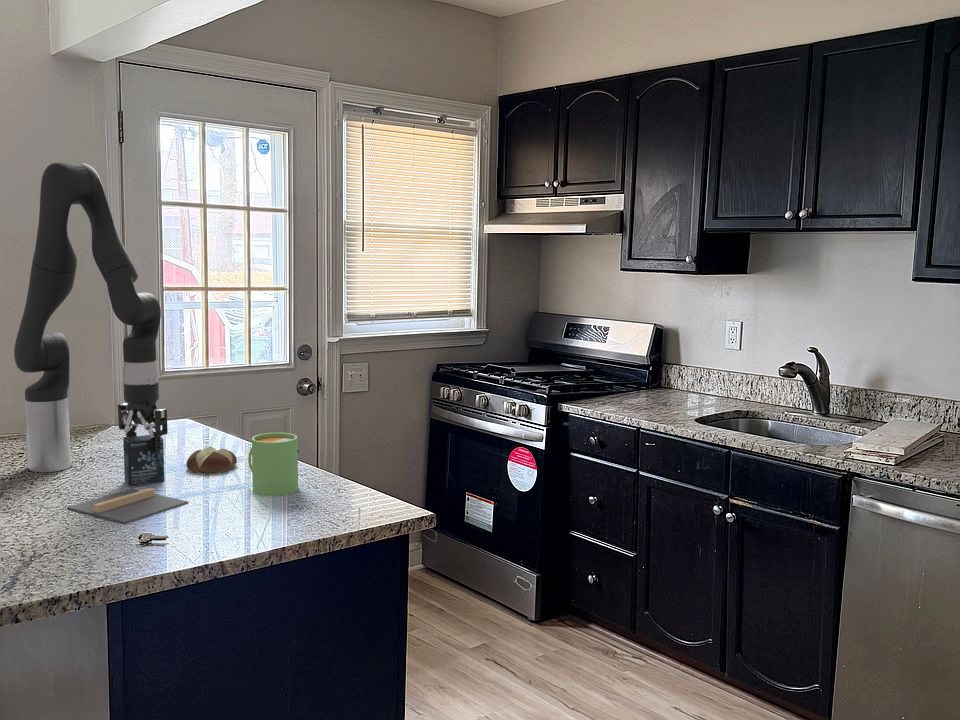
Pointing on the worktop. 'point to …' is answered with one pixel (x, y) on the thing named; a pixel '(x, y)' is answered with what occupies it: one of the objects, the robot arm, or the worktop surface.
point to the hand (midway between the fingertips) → (143, 450)
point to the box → (142, 461)
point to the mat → (128, 505)
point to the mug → (274, 463)
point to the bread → (211, 460)
